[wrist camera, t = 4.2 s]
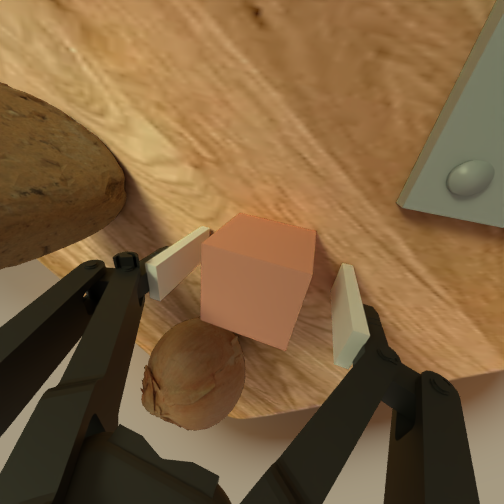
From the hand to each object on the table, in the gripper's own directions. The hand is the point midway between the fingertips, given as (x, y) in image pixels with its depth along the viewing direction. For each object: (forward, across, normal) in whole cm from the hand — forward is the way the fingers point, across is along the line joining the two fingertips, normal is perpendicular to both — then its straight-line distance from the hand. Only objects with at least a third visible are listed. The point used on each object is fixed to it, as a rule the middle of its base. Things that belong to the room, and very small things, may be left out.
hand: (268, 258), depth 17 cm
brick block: (0, 0, 0) cm, 0 cm away
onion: (0, -4, -12) cm, 12 cm away
